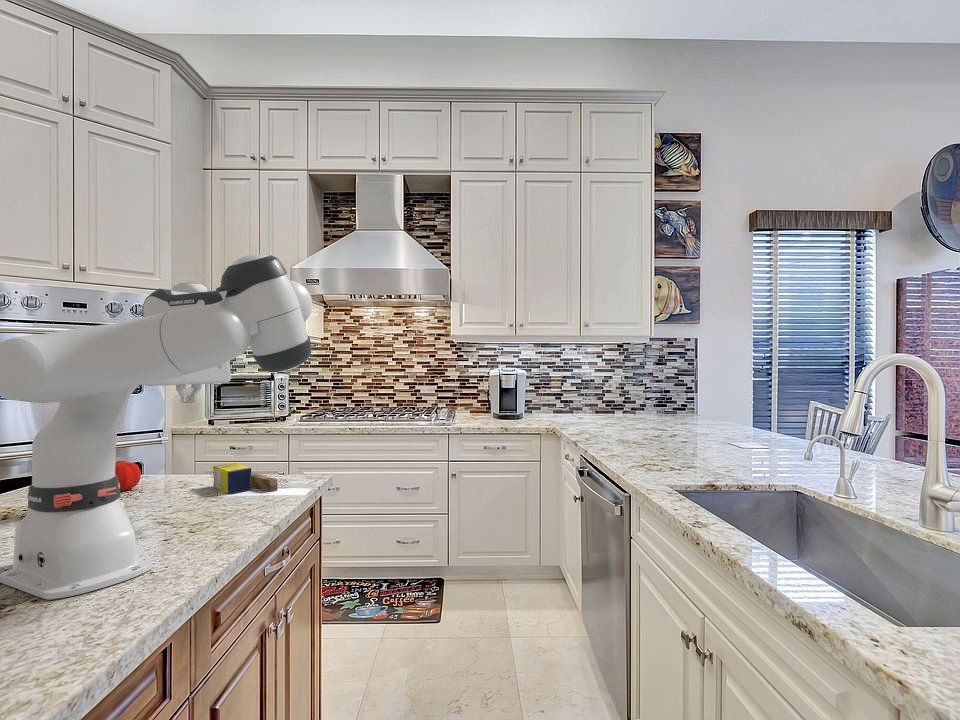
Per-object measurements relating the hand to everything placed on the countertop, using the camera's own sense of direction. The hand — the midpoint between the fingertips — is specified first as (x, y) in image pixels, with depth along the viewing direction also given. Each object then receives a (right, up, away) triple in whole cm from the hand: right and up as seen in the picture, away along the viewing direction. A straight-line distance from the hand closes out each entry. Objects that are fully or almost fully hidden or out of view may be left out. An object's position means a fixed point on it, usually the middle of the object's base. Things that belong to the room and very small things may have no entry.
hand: (188, 402), depth 124 cm
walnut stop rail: (+12, -24, +11) cm, 29 cm away
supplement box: (+11, -21, +5) cm, 24 cm away
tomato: (-23, -24, +6) cm, 34 cm away
